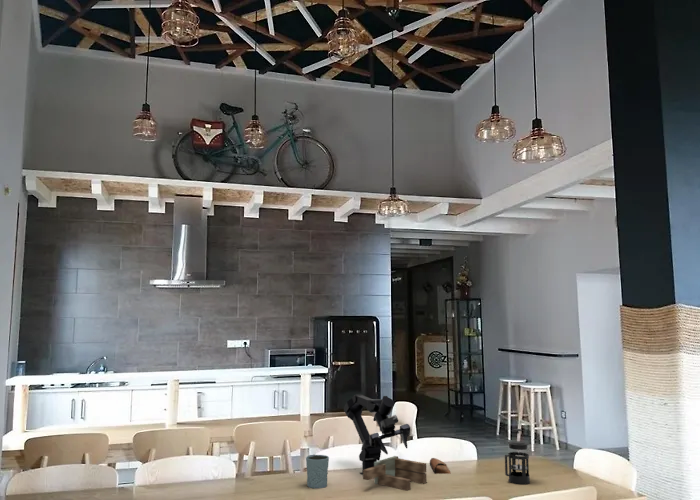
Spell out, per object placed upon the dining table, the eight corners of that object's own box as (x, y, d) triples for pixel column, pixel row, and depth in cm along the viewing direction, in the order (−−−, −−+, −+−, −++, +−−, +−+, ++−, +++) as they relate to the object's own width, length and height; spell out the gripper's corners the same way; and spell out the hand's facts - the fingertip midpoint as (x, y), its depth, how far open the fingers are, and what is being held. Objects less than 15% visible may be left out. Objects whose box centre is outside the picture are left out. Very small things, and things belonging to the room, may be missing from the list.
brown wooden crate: (374, 483, 247) (374, 462, 249) (394, 475, 260) (394, 455, 261) (407, 490, 237) (406, 468, 238) (426, 482, 249) (426, 461, 250)
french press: (524, 478, 257) (522, 426, 260) (535, 484, 248) (533, 430, 251) (501, 479, 255) (499, 427, 258) (511, 485, 245) (509, 431, 249)
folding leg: (382, 472, 248) (382, 463, 249) (387, 473, 247) (387, 464, 247) (363, 479, 237) (363, 469, 238) (367, 480, 236) (367, 470, 236)
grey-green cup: (311, 490, 237) (311, 460, 238) (301, 484, 246) (302, 455, 247) (332, 487, 241) (332, 458, 243) (322, 481, 250) (323, 453, 252)
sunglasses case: (452, 473, 264) (444, 460, 265) (439, 481, 264) (432, 468, 265) (446, 464, 282) (439, 452, 283) (434, 471, 282) (427, 459, 283)
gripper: (365, 416, 247) (377, 445, 235) (403, 405, 252) (418, 433, 240) (364, 432, 253) (377, 461, 241) (402, 421, 258) (416, 449, 246)
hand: (397, 450), depth 242 cm, fingers open, 9 cm apart
